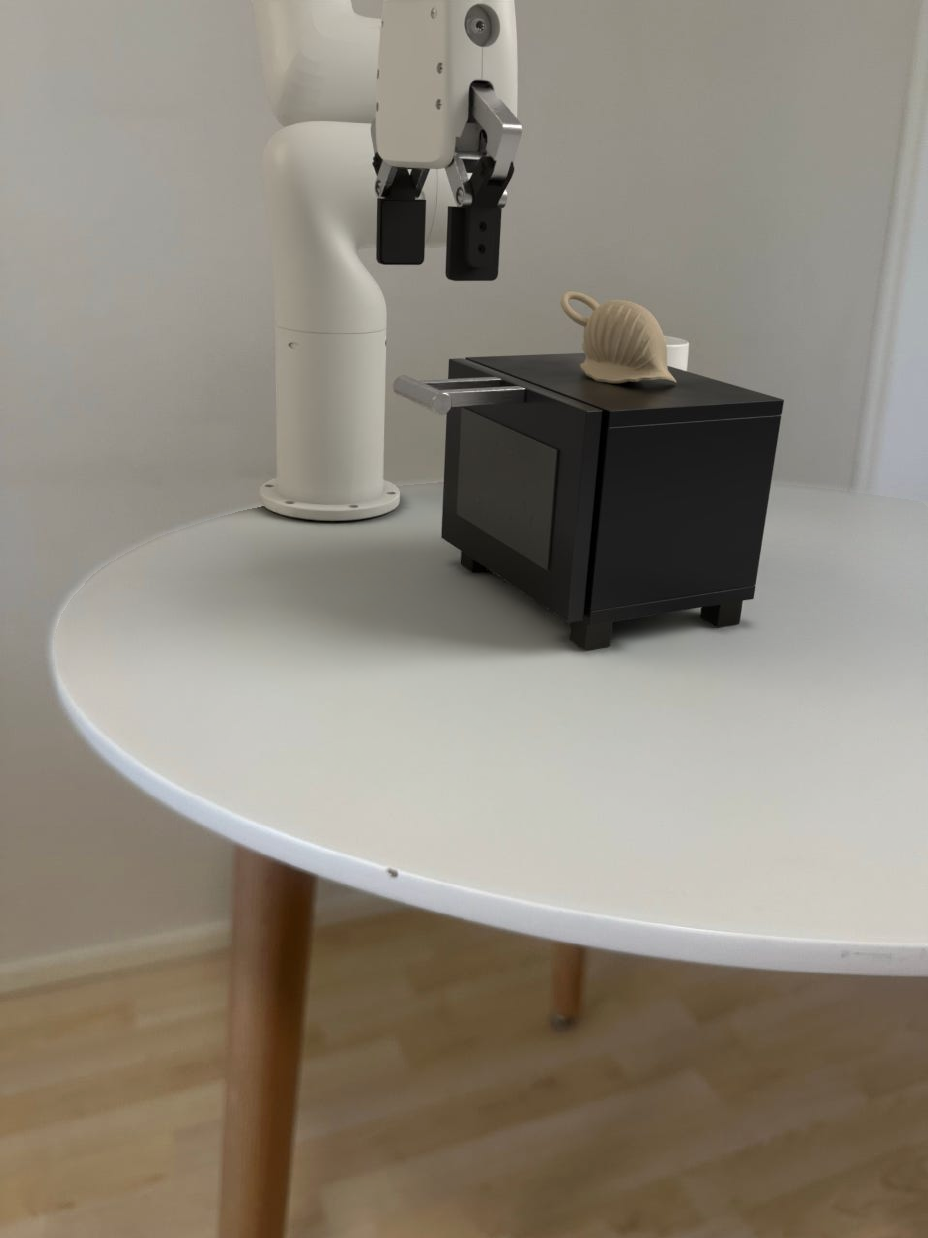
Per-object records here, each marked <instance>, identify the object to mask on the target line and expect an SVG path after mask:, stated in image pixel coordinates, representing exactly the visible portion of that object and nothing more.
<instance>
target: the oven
mask: <svg viewBox="0 0 928 1238" xmlns="http://www.w3.org/2000/svg"><path fill="white" fill-rule="evenodd" d="M585 358H586V357H585V353H584V352H571V353H547V354H544V353H542V354H540V353H539V354H515V355H492V356H491V355H490V356H469V357H468V356H466V357H464V359H466V360H469V361H471V362H474V363H477V364H480V365H482V366H485V367H488V368H490V369H493V370H496V371H498V372H501V373H504V374H506V375H509V376H512V377H514V378H517V379H520V380H522V381H525V382H528V383H531V384H533V385H536V386H539V387H541V388H544V389H547V390H549V391H552V392H555V393H557V394H560V395H563V396H565V397H568V398H571V399H573V400H576V401H579V402H582V403H584V404H587V405H590V406H592V407H595V408H598V409H600V410H602V411H603V413H602V423H601V434H600V445H599V455H598V466H597V477H596V487H595V498H594V509H593V519H592V530H591V541H590V551H589V562H588V573H587V583H586V594H585V605H584V615H583V620H582V621H576V622H570V628H569V638H568V639H569V641H571V642H572V643H573V644H575V645H576V646H578V647H579V648H581V649H582V650H584V651H591V650H597V649H602V648H607V647H608V648H609V647H610V646H611V640H612V632H613V624H614V622H621V621H626V620H627V621H628V620H633V619H634V620H635V619H638V618H644V617H651V616H657V615H663V614H670V613H676V612H681V611H682V612H683V611H688V610H694V609H700V614H699V618H700V619H701V620H703V621H704V622H707V623H708V624H710V625H712V626H714V627H715V628H719V629H720V628H723V627H729V626H736V625H740V623H741V616H742V611H743V603H744V601H750V600H754V599H755V592H756V584H757V578H758V573H759V566H760V559H761V553H762V545H763V541H764V540H763V539H764V532H765V526H766V520H767V514H768V507H769V501H770V500H769V499H770V492H771V486H772V481H773V474H774V469H775V461H776V453H777V448H778V440H779V434H780V429H781V428H780V427H781V420H782V415H783V409H784V404H785V399H783V398H780V397H777V396H773V395H769V394H765V393H762V392H759V391H756V390H753V389H749V388H746V387H743V386H739V385H736V384H731V383H728V382H725V381H721V380H718V379H715V378H711V377H707V376H704V375H700V374H697V373H694V372H690V371H688V370H687V371H684V370H681V369H677V368H674V367H670V366H667V368H668V371H669V372H670V374H671V375H672V376H673V377H674V379H675V380H676V383H675V382H673V381H671V380H668V379H655V380H640V381H637V382H631V381H627V382H623V383H608V382H601V381H596V380H594V379H593V378H591V377H589V376H587V375H586V374H585V372H584V371H581V367H580V364H581V363H584V361H585ZM460 565H461V566H462V567H464V568H465V569H467V570H468V571H470V572H471V573H476V572H484V571H485V572H487V571H490V570H489V569H487V568H486V567H484V566H483V565H481V564H480V563H478V562H477V561H475V560H474V559H472V558H471V557H469V556H468V555H466V554H465V553H463V552H462V551H460Z"/></svg>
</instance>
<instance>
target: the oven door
mask: <svg viewBox="0 0 928 1238" xmlns="http://www.w3.org/2000/svg"><path fill="white" fill-rule="evenodd" d="M447 370H448V371H447V378H443V379H423V380H421V379H420V380H418V379H415V378H413V377H410V376H408V375H405V374H401V375H399V376H397V377H396V378H395V379H394V381H393V384H392V389H393V392H394V394H395V395H397V396H398V397H401V398H402V399H404V400H407V401H408V402H410V403H412V404H414V405H417V406H418V407H421V408H424V409H425V410H428V411H429V412H432V413H434V414H436V415H438V416H443V415H446V418H445V419H446V420H445V439H444V462H443V463H444V465H443V466H444V467H443V486H442V487H443V488H442V512H441V531H440V532H441V534H440V538H441V539H442V540H444V541H445V542H447V543H448V544H450V545H451V546H453V547H454V548H456V549H457V550H458V551H460V552H461V551H462V552H463V553H465V554H466V555H468V556H469V557H471V558H472V559H474V560H475V561H477V562H478V563H480V564H481V565H483V566H484V567H486V568H487V569H489V570H488V571H490V572H491V573H493V574H495V575H496V576H497V577H499V578H500V579H502V581H503V580H504V581H505V582H506V583H507V584H509V585H511V586H512V587H514V588H516V589H517V590H519V591H520V592H521V593H523V594H524V595H526V596H527V597H529V598H530V599H531V600H533V601H535V602H536V603H537V604H539V605H541V606H542V607H544V608H545V609H547V611H550V612H551V613H552V614H554V615H555V616H557V617H559V618H560V619H561V620H563V621H564V622H566V623H568V624H569V623H571V622H576V621H582V620H583V615H584V605H585V594H586V583H587V573H588V562H589V551H590V541H591V530H592V519H593V509H594V498H595V487H596V477H597V466H598V455H599V445H600V434H601V423H602V413H603V411H602V410H600V409H598V408H595V407H592V406H590V405H587V404H584V403H582V402H579V401H576V400H573V399H571V398H568V397H565V396H563V395H560V394H557V393H555V392H552V391H549V390H547V389H544V388H541V387H539V386H536V385H533V384H531V383H528V382H525V381H522V380H520V379H517V378H514V377H512V376H509V375H506V374H504V373H501V372H498V371H496V370H493V369H490V368H488V367H485V366H482V365H480V364H477V363H474V362H471V361H469V360H466V359H465V358H463V357H460V358H459V357H458V358H457V357H456V358H455V357H454V358H448V369H447Z"/></svg>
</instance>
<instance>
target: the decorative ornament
mask: <svg viewBox="0 0 928 1238" xmlns="http://www.w3.org/2000/svg"><path fill="white" fill-rule="evenodd" d="M570 300H576V301H579V302H581V303H583V304H584V305H586V306H587V307H588V308H590V309H591V310H592V312H591V314H590V316H589V318H588V317H586V316H584V315H581V314H579V313H578V312H577V311H575V310H574V309H573V308H572V307H571V306H570V304H569V301H570ZM560 306H561V309H562V311H563V312H564V314H566V316H567V317H568V318H569V319H570V320H572V322H574V323H575V324H577V325H579V326H582V327H583V332H582V333H583V335H582V338H583V341H582V344H581V350H582V352H583V353H585V357H586V358H585V361H584V363H581V364H580V367H581V371H584V372H585V374H586V375H587V376H589V377H591V378H593V379H594V380H596V381H601V382H608V383H623V382H627V381H631V382H637V381H640V380H655V379H668V380H671V381H673V382H675V383H676V380H675V379H674V377H673V376H672V375H671V374H670V372H669V371H668V368H667V346H666V341H665V337H664V336H665V335H664V332H663V330H662V328H661V326H660V323H659V322H658V320H657V319H656V317H655V316H654V315H653V314H652V313H651V311H649V310H648V309H647V308H645V307H644V306H643V305H640V304H638V303H635V302H633V301H629V300H624V299H611V300H607V301H604V302H603V303H601V304H599V302H597V301H596V300H595V299H593V297H590V296H589V295H586V294H585V293H582V292H579V291H567V292H565V293H563V294H562V295H561V297H560Z"/></svg>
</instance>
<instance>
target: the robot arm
mask: <svg viewBox="0 0 928 1238" xmlns="http://www.w3.org/2000/svg"><path fill="white" fill-rule="evenodd" d="M250 2H251V7H252V14H253V15H252V16H253V21H254V27H255V28H254V29H255V34H256V42H257V47H258V48H257V49H258V56H259V61H260V66H261V67H260V68H261V73H262V80H263V85H264V89H265V93H266V97H267V101H268V105H269V107H270V109H271V112H272V115H273V116H274V117H275V119H276V120H277V122H278V123H279V124H280V125H281V126H282V128H281V129H279V130H277V131H276V132H275V133H274V134H272V135H271V136H270V137H269V139H268V141H267V142H266V144H265V145H264V149H263V152H262V155H261V161H260V180H261V191H262V197H263V203H264V210H265V216H266V222H267V229H268V235H269V236H268V237H269V244H270V251H271V264H272V278H273V279H272V281H273V313H274V317H273V319H274V320H273V321H274V322H273V323H274V361H275V362H274V364H275V366H274V367H275V369H274V370H275V372H274V373H275V432H276V433H275V434H276V435H275V437H276V441H275V442H276V444H275V445H276V446H275V447H276V477H273V478H271V479H268V480H267V481H266V482H264V483H263V484H262V485H260V488H259V493H258V494H259V495H258V496H259V497H258V498H259V499H258V500H259V502H260V504H261V505H262V506H263V507H264V508H266V509H267V510H269V511H271V512H273V513H276V514H278V515H281V516H285V517H289V518H294V519H301V520H311V521H321V522H322V521H325V522H338V521H339V522H340V521H341V522H342V521H343V522H345V521H356V520H364V519H370V518H375V517H379V516H383V515H386V514H388V513H391V512H392V511H394V510H395V509H396V508H397V507H398V506H399V505H400V502H401V491H400V489H399V488H398V486H397V485H396V484H394V483H393V482H391V481H388V480H386V479H384V467H385V465H384V461H385V460H384V459H385V419H386V418H385V417H386V377H387V376H386V370H387V322H388V320H387V319H388V317H387V316H388V312H387V304H386V300H385V296H384V294H383V291H382V290H381V287H380V285H379V284H378V282H377V281H376V280H375V278H374V277H373V276H372V274H371V273H370V271H369V270H368V269H367V268H366V266H365V265H364V264H363V262H362V261H361V259H360V257H359V255H358V251H359V250H360V249H361V250H362V249H373V248H375V249H376V251H375V253H376V254H375V258H376V262H377V263H378V264H380V265H383V266H420V265H422V264H423V263H424V262H425V254H426V252H425V251H426V250H425V249H440V248H446V250H445V272H444V273H445V277H446V278H447V280H449V281H453V282H493V281H495V280H497V278H498V277H499V267H500V266H499V265H500V250H501V249H500V245H501V231H502V230H501V229H502V211H503V210H502V209H504V208H505V207H506V205H507V202H508V191H507V187H508V185H509V183H510V182H511V180H512V178H513V175H514V173H515V165H514V162H515V158H516V154H517V152H518V148H519V145H520V141H521V138H522V134H523V126H522V123H521V121H520V120H519V119H518V96H519V95H518V93H519V91H518V90H519V89H518V87H519V83H518V79H519V78H518V77H519V76H518V74H519V69H518V66H519V65H518V63H519V61H518V59H519V57H518V34H517V33H518V31H517V29H518V28H517V15H516V4H515V0H383V1H382V8H381V9H382V10H381V16H380V17H381V18H378V17H377V18H376V17H367V16H363V15H360V14H358V13H356V12H355V11H354V9H353V4H352V0H250Z"/></svg>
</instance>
